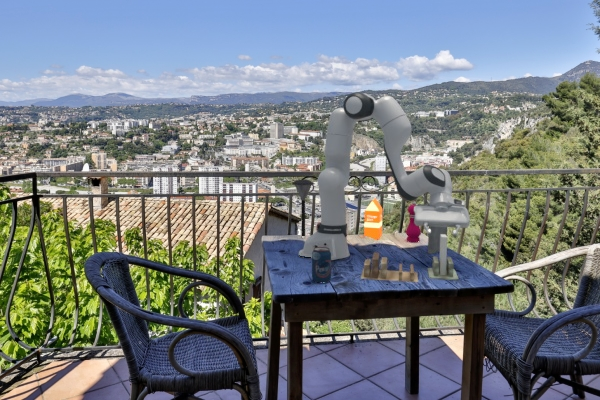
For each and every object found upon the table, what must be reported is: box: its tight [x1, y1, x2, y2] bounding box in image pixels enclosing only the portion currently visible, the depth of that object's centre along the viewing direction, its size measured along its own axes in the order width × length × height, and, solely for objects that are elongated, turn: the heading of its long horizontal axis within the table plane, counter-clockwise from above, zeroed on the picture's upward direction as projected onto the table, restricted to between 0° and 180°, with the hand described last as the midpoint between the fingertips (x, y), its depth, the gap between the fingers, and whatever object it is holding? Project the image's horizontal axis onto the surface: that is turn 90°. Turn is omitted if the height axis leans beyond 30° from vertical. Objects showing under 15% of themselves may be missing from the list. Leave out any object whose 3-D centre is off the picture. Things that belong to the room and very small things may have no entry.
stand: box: [426, 256, 459, 281], centre depth 168 cm, size 10×12×7 cm
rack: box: [360, 252, 419, 283], centre depth 167 cm, size 20×12×8 cm, turn 78°
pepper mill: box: [405, 201, 422, 243], centre depth 227 cm, size 7×7×20 cm
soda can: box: [311, 247, 332, 284], centre depth 165 cm, size 7×7×12 cm
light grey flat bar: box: [438, 234, 448, 275], centre depth 167 cm, size 2×5×14 cm, turn 167°
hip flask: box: [427, 226, 448, 255], centre depth 208 cm, size 16×4×20 cm, turn 140°
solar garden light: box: [291, 179, 316, 237], centre depth 233 cm, size 12×12×30 cm
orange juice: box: [363, 198, 383, 240], centre depth 236 cm, size 8×9×20 cm
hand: (441, 234), depth 171 cm, fingers open, 8 cm apart
